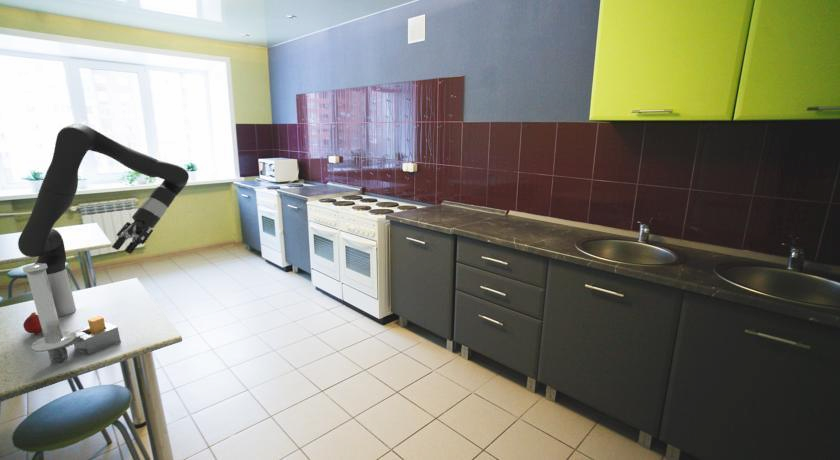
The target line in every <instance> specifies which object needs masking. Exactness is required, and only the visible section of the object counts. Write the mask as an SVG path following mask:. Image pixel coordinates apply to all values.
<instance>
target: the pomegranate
mask: <svg viewBox="0 0 840 460" xmlns="http://www.w3.org/2000/svg"><path fill="white" fill-rule="evenodd" d="M23 328H24V331H26V333H28V334H33V335H40V334H42V333H43V332H42V328H41V324H40V321H39V317H38V314H37V312H35V311H33V312H31V314H30V315H29V316H28V317H27V318H26V319H25V320H24V322H23Z"/></svg>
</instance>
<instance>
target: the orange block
mask: <svg viewBox="0 0 840 460" xmlns="http://www.w3.org/2000/svg"><path fill="white" fill-rule="evenodd" d="M87 321H88V322H87V323H88V326H89V327H90V331H91V334H93V333H96V332H99V331H101V330H104V329H106V327H105V323H104V321H105V319H104V317H103V316H100V315H97V316H94V317H92V318H89V319H87Z"/></svg>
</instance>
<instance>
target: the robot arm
mask: <svg viewBox="0 0 840 460" xmlns="http://www.w3.org/2000/svg"><path fill="white" fill-rule="evenodd" d="M54 145H55V146H54V151H53V156H52V160H51V162H50V164H49V166H48V169H47V170H46V174H45V176H44V178H43V180H42V182H41V185H40V188H39V191H38V193H37V197H36V201H35V203H34V206H33V208H32V211H31V213H30V215H29V218H28V220H27V222H26V224H25V226H24V228H23V229H22V232H21V234H20V236H19V237H18V241H17V247H18V249H19V252H20V253H21V254H22V255H23V256H25V257H28V258H37V260H36V261H35V263H34V264H40V263H45V264H47V269H46V273H47V277H48V281H49V285H50V289H51V292H52V296H53V300H54V304H55V308H56V312H57V316H58V318H62V317H65V316H68V315H70V314H72V313H74V312H75V311H76V310H77V309H76V305H75V300H74V295H73V291H72V288H71V283H70V280H69V276H68V272H67V267H66V263H67V254H66V249H65V243H64V239H63V237H62V235H61V233H60V232H59V231H58V230H56V229H55V228H53V227H54V226H55V224H56V223H57V222H58V220H59V219H60V218H61V217H62V216H63V215H64V214H65V212H66V211H68V209H69V208H70V207H71V205H72V203H73V201H74V199H75V197H76V194H77V191H78V185H79V169H80V166H81V164H82V161H83V159H84V157H85V156H86V154H87V152H88V151H91V152H96V153H97V154H98V153H99V154H102V155H105V156H106V157H109V158H111V159H113V160H115V161H117V162H118V163H119V164H121V165H123V166H125V167H126V168H128V169H130V170H132V171H134V172H136V173H139V174H142V175H144V176H147V177H150V178H159V179H162V180H163V181H162V182H161V184H160V185H159V186H157V187H155V189H154V190H153V191H152V192H151V194H150V195H148V197H147V199H145V200H144V201H143V202H142V204H141V205H140V206H139V208H138V209H137V210H136V211H135V212H134V214H133V215H132V217H131V218H132V220H134V221H132V222H131V223H130V222H129V221H127V222H125V224H124V225H123V226H122V227H121V228H120V230H119V231H118V232H117V233H116V237H117V239H116V241H114V243H113V244H112V246H111V247H112V249H114V250H117V251H118V250H120V249H121V247H122V246H123V245H124V244H125V242H126V241H127V240H129V239H132V240H131V241H130V242H129V244H128V245H127V246H126V248H125V249H124V252H126V253H127V254H132V253H133V252H134V250H135V249H136V248H137V247H138V246H140V245H144V244H145V243H146V242H147V240H148V239H149V237H150V236H151V235H152V233H153V231H154V228H155V227H156V225H157V224H158V222H159V221H161V219H162V217H163V216H164V215H165V213H166V212H167V210H168V208H169V207H170V206H171V204H172V203H173V201H174V200H175V198H176V197H177V196H178V195H179V194H180V193H181V192H182V191H183V189H184V188H185V186H187V184H188V181H189V178H190V175H189V173H188V171H187V170H186V169H185V168H183V167H182V166H180V165H177V164H174V163H170V162H165V161H162V160H158V159H157V158H154V157H152V156H149V155H147V154H144V153H141V152H139V151H138V150H135V149H133V148H130V147H128V146H126V145H124V144H123V143H122V144H121V143H120V142H118V141H115V140H114V139H111V138H110V137H108V136H106V135H104V134H102V133H101V132H99V131H98V130H95V129H94V128H92V127H90V126H88V125H86V124H82V123H74V124H70V125H67V126H65V127H63V128H62V129H60V130H59V132H58V133H57V135H56V140H55V143H54Z"/></svg>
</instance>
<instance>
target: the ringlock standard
mask: <svg viewBox="0 0 840 460" xmlns="http://www.w3.org/2000/svg"><path fill="white" fill-rule="evenodd" d="M46 269H47V264H45V263H40V264H35V263H32V264H30V265H26V266H24V267H22V271H23V273H26V277H27V280H28V284H29V287H30V292H31V295H32V299H33V303H34V305H35V309H36V314H37V315H38V317H39V321H40V324H41V328H42V332H41V333H42V334H43V337H41V338H39V339H37V340H36V341H34V342H33V343H32V344H31V349H32V351H33V352H36V353H44V352H47V353H48V357H49V361H50V364H51V365H57V364H58V365H59V364H62V363H64V362H66V361H68V360H69V355H68V350H67V348H68V347H70V346H73V347H74V349H76V350H78V351H80V352H81V353H84V354H85V355H87V356H91V355H93V354H95V353H98V352H99V351H102V350H105V349H107V348H109V347H112V346H114V345H117V344H119V343H121V337H120V331H119V328H118V326H116V325H114V324H112V323H109V322H106V320H104V323H105V327H106V329H104V330H101V331H99V332H96V333H93V334H91V331H90V327H89V325H87V326H85V327H82V328H80V329H77V330H74V331H62V327H61V324H60V321H59V317H58V316H57V312H56V308H55V304H54V300H53V296H52V292H51V289H50V285H49V281H48V277H47V273H46Z"/></svg>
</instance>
